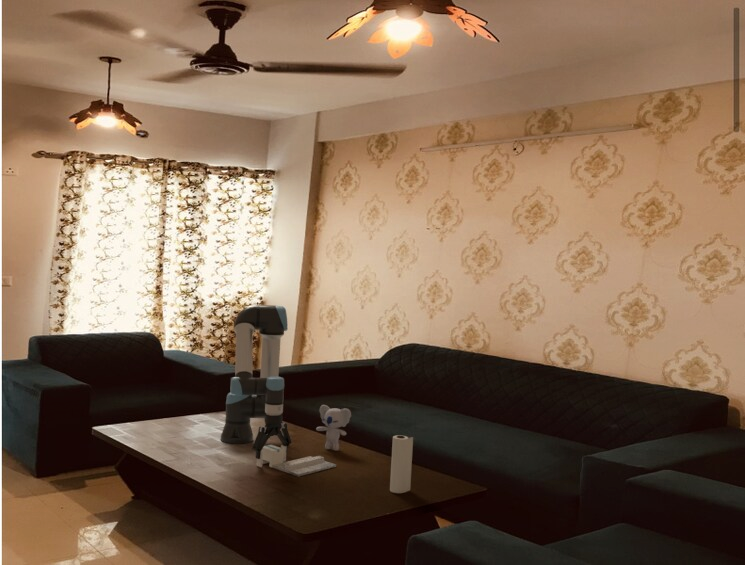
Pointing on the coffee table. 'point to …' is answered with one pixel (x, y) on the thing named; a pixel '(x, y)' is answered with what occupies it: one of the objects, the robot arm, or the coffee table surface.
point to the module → (272, 455)
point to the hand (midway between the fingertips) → (271, 463)
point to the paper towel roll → (401, 464)
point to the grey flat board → (304, 466)
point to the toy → (333, 424)
